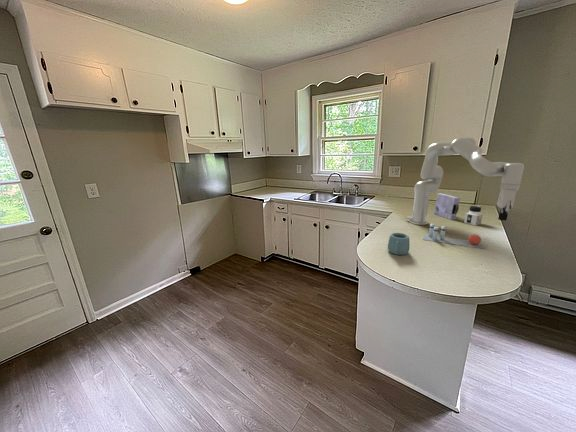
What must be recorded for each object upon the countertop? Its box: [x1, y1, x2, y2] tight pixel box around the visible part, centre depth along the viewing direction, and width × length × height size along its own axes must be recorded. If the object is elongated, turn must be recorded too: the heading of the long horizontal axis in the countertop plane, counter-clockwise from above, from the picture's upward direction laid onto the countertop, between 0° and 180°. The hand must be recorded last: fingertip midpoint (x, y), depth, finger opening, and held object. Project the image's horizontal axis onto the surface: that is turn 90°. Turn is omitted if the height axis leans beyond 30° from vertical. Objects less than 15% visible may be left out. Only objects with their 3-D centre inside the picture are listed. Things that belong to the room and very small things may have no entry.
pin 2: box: [432, 226, 439, 242], centre depth 148 cm, size 2×2×8 cm
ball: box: [467, 234, 482, 245], centre depth 141 cm, size 6×6×6 cm
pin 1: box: [428, 223, 436, 237], centre depth 154 cm, size 2×2×8 cm
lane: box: [422, 234, 484, 249], centre depth 148 cm, size 30×10×1 cm, turn 60°
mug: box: [387, 232, 410, 256], centre depth 132 cm, size 15×11×10 cm
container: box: [464, 205, 484, 226], centre depth 177 cm, size 8×8×13 cm
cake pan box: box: [433, 192, 461, 221], centre depth 194 cm, size 19×5×18 cm, turn 9°
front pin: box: [439, 225, 447, 240], centre depth 149 cm, size 2×2×8 cm
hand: (502, 219), depth 133 cm, fingers closed
